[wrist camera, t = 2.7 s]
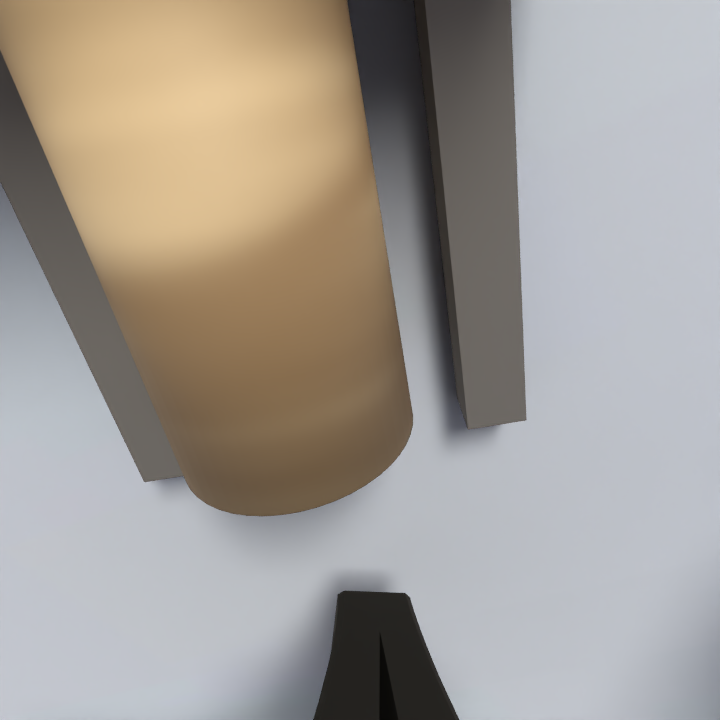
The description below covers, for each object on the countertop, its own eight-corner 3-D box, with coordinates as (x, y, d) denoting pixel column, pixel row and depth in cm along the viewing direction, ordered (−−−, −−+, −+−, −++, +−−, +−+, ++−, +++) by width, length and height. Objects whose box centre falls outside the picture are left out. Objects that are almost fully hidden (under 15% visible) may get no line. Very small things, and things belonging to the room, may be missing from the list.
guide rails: (509, 389, 10) (526, 420, 9) (161, 447, 11) (143, 482, 10) (477, -224, 6) (500, -273, 5) (-80, -97, 7) (-145, -122, 6)
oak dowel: (419, 363, 10) (402, 514, 7) (232, 377, 10) (139, 518, 7) (346, -154, 6) (242, -332, 3) (79, -77, 7) (-205, -162, 4)
